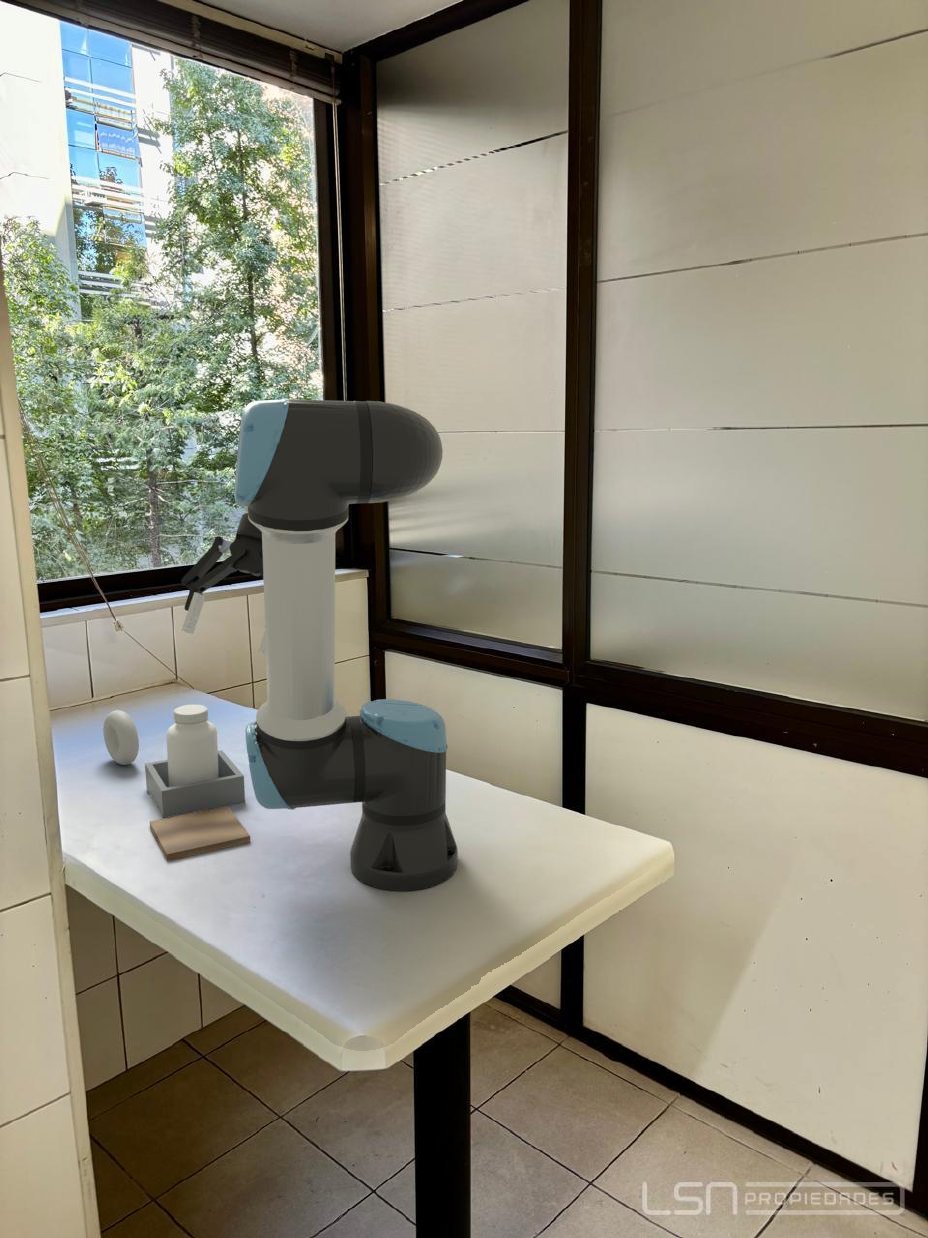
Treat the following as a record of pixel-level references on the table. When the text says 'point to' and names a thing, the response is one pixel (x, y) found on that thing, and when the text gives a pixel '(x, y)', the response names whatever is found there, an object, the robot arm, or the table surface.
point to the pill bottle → (192, 746)
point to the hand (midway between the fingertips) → (224, 643)
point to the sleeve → (194, 789)
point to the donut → (121, 737)
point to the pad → (198, 832)
